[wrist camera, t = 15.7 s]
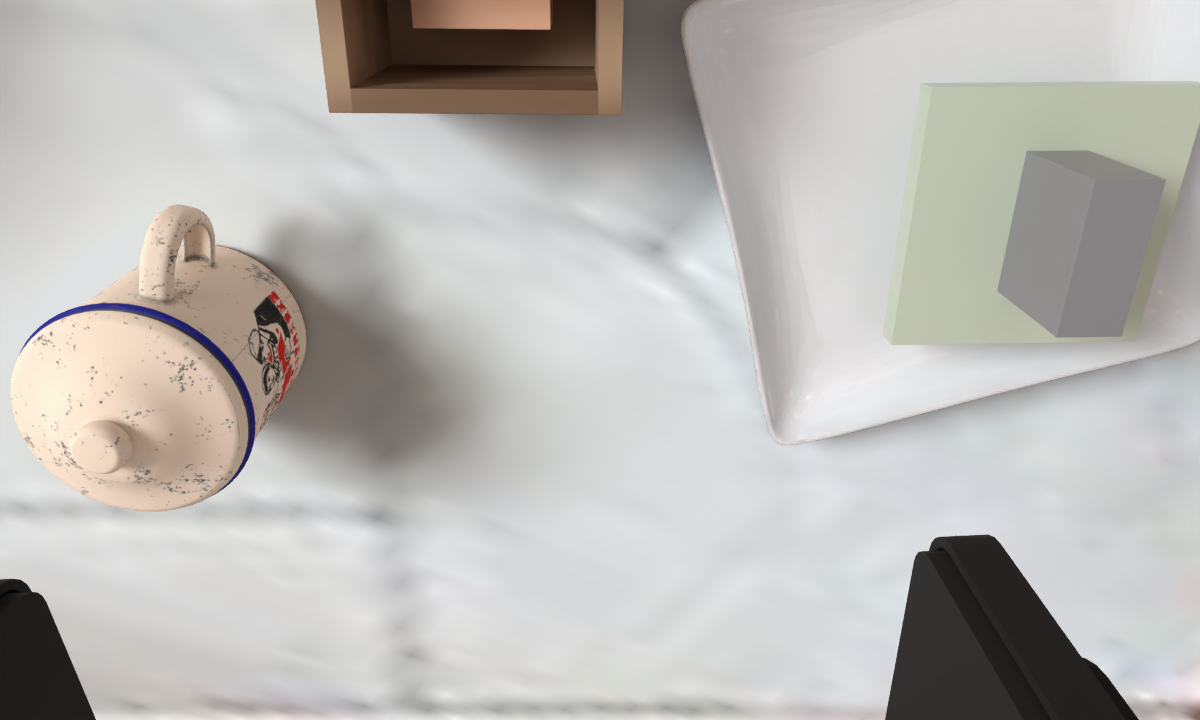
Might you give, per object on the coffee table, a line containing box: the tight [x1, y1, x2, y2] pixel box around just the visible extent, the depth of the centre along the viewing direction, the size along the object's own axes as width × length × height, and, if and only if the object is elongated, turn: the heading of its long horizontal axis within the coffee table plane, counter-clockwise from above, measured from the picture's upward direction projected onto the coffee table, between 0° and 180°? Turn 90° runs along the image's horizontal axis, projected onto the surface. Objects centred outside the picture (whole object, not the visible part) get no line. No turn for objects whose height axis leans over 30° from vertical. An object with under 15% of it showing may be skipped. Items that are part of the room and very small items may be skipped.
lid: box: [883, 81, 1200, 345], centre depth 34 cm, size 11×11×6 cm
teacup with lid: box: [11, 205, 307, 511], centre depth 35 cm, size 12×9×12 cm
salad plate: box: [680, 0, 1200, 445], centre depth 37 cm, size 21×21×3 cm
